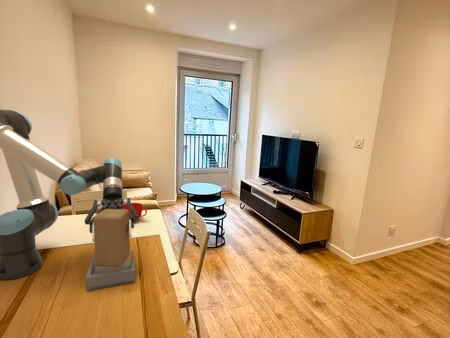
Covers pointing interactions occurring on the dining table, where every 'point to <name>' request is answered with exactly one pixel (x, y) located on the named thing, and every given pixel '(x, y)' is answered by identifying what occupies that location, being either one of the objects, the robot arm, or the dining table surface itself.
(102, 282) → the end cap cradle
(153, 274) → the dining table surface
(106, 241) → the wooden block
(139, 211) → the ceramic cup
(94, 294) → the dining table surface
